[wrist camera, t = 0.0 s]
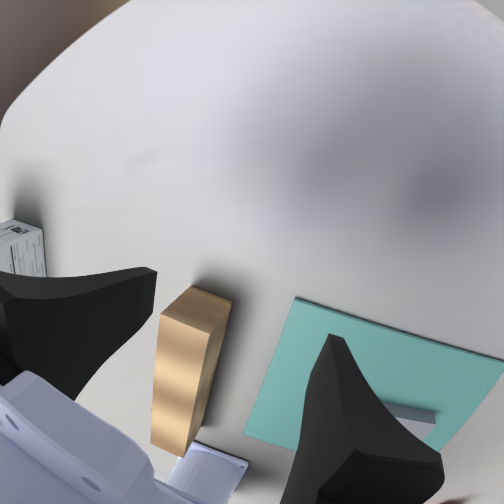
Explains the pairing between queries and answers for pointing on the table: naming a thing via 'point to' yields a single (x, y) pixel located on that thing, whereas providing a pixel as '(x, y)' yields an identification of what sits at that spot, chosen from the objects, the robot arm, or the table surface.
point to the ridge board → (372, 377)
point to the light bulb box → (21, 249)
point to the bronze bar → (186, 366)
